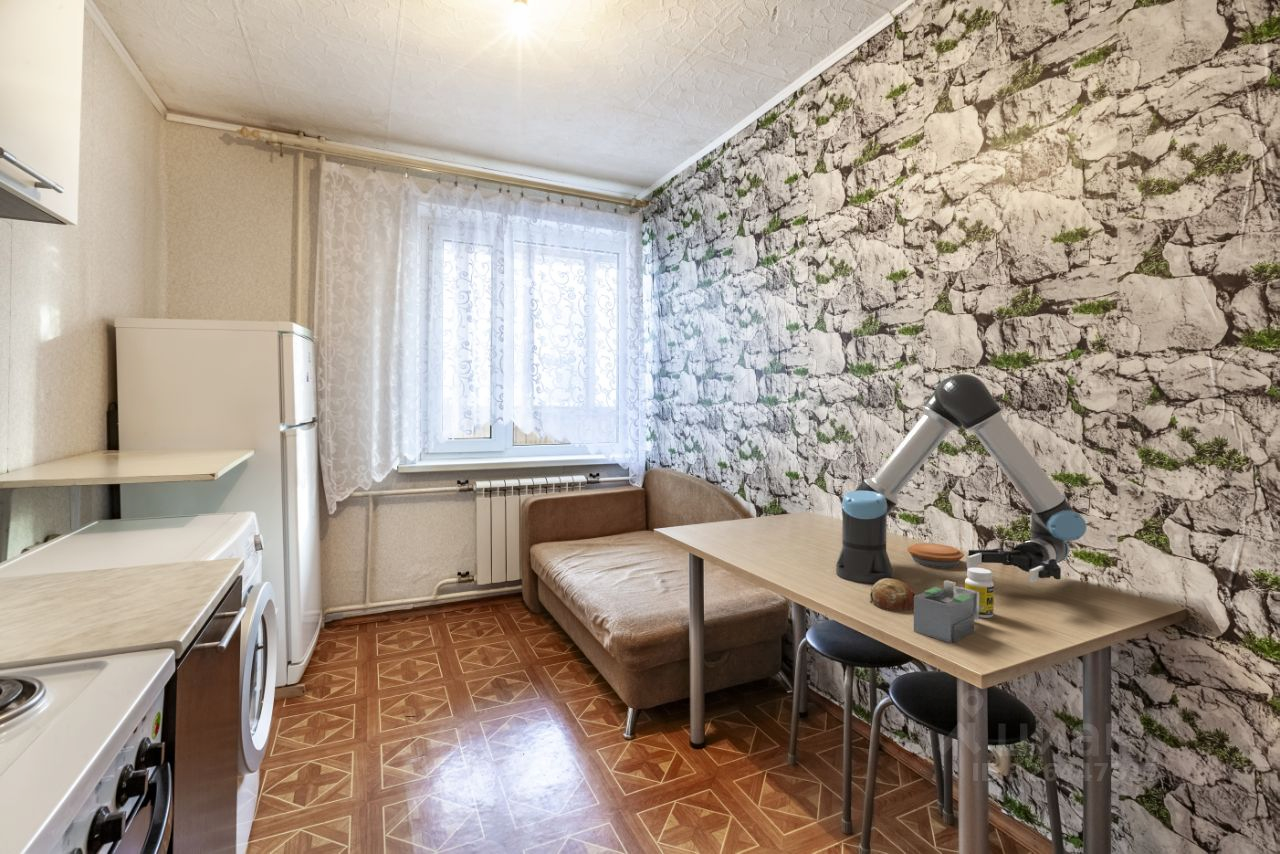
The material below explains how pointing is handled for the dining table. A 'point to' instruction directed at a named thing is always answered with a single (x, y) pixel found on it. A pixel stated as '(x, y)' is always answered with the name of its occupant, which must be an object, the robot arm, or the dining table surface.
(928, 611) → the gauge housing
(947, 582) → the plunger
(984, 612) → the supplement bottle
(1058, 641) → the dining table surface
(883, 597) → the bread roll
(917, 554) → the pie
